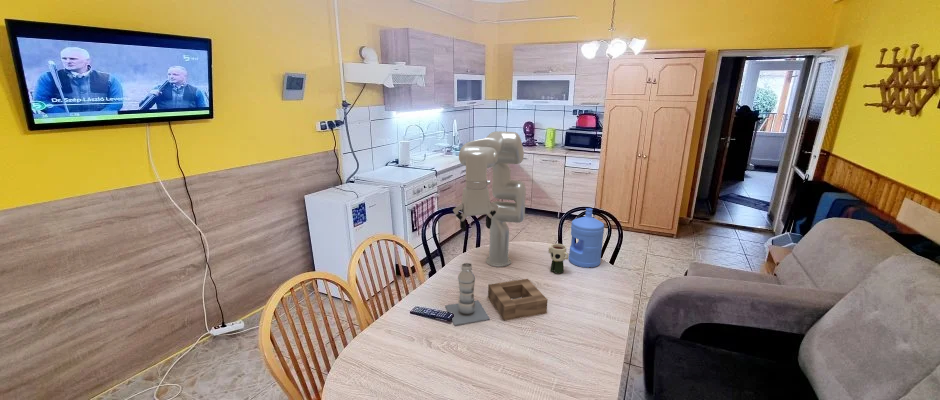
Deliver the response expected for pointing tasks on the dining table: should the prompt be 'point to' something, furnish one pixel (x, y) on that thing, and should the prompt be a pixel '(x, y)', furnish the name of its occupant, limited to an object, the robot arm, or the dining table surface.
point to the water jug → (586, 241)
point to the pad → (462, 318)
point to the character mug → (558, 257)
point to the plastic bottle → (466, 289)
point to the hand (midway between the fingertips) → (475, 228)
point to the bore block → (521, 307)
